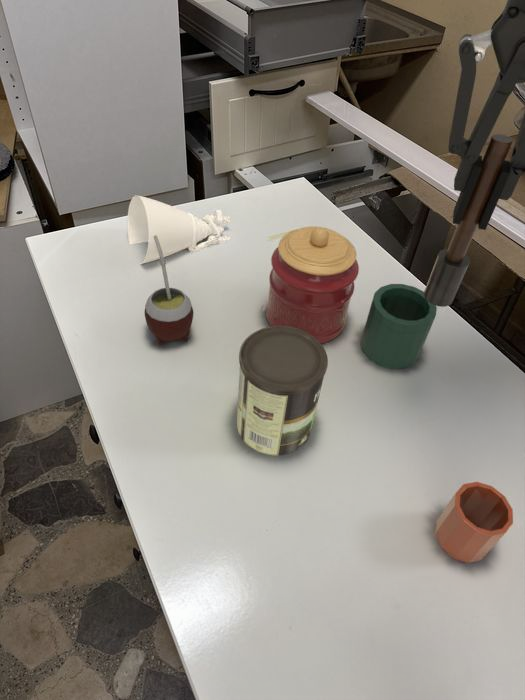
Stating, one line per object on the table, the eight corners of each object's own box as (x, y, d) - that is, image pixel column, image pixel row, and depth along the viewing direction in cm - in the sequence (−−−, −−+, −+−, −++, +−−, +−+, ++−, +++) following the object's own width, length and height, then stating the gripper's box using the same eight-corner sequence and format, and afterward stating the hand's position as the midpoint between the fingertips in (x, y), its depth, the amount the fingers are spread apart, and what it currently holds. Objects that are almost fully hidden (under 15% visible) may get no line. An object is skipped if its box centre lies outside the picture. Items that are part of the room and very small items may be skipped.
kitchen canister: (341, 298, 90) (362, 207, 78) (347, 352, 81) (372, 260, 69) (266, 292, 90) (275, 200, 77) (264, 346, 81) (273, 252, 68)
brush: (453, 291, 66) (520, 134, 51) (452, 309, 63) (522, 150, 49) (424, 285, 66) (483, 127, 52) (422, 302, 64) (483, 142, 49)
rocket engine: (238, 188, 95) (142, 184, 86) (249, 250, 94) (153, 253, 85) (212, 210, 105) (123, 209, 96) (222, 267, 104) (133, 271, 95)
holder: (484, 524, 63) (512, 491, 57) (484, 572, 59) (514, 542, 53) (434, 509, 64) (456, 475, 58) (430, 556, 60) (454, 524, 54)
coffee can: (308, 398, 74) (323, 326, 64) (314, 461, 67) (332, 391, 57) (235, 396, 74) (239, 323, 64) (234, 459, 67) (238, 388, 57)
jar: (419, 340, 84) (438, 292, 77) (413, 379, 78) (434, 332, 71) (364, 326, 86) (378, 277, 79) (354, 364, 80) (369, 315, 73)
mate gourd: (177, 360, 78) (172, 281, 67) (133, 341, 80) (121, 261, 69) (204, 331, 82) (203, 252, 72) (162, 313, 85) (155, 234, 74)
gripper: (476, -54, 39) (396, 223, 56) (697, -25, 36) (543, 254, 53) (476, -68, 44) (403, 190, 61) (670, -43, 41) (537, 217, 58)
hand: (469, 219), depth 57 cm, fingers closed on brush, 2 cm apart
